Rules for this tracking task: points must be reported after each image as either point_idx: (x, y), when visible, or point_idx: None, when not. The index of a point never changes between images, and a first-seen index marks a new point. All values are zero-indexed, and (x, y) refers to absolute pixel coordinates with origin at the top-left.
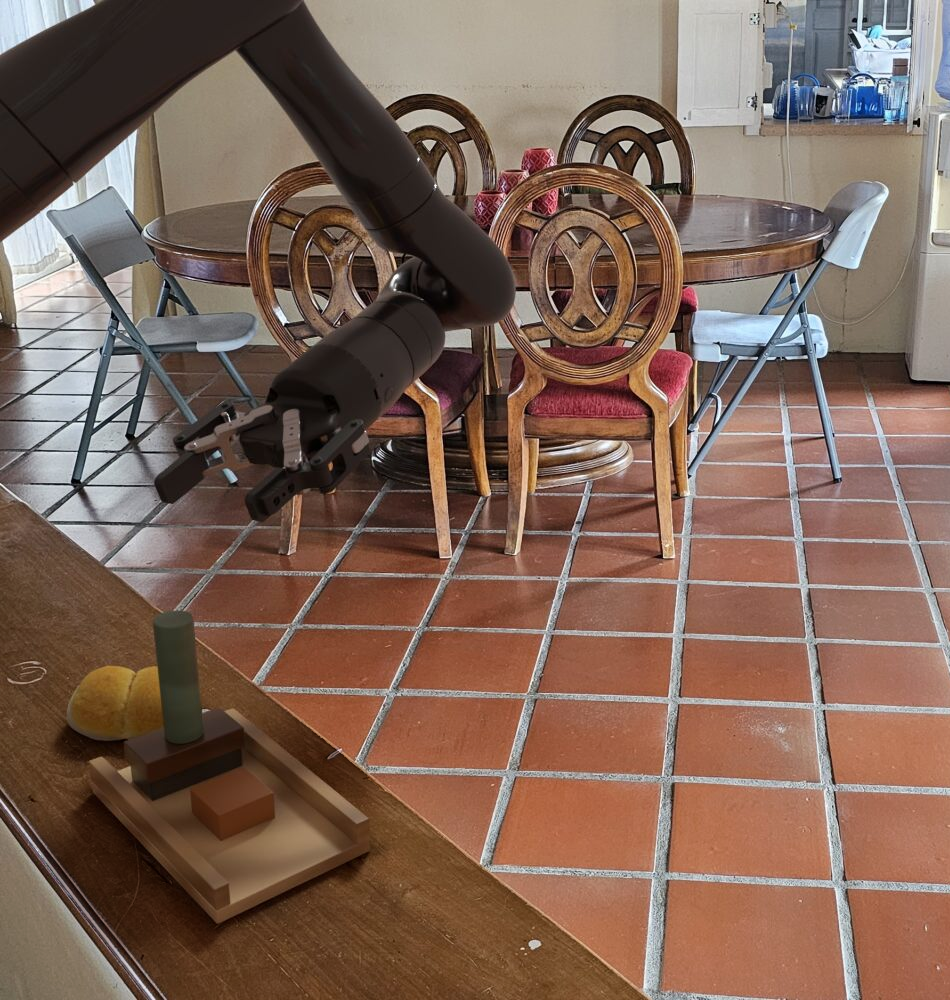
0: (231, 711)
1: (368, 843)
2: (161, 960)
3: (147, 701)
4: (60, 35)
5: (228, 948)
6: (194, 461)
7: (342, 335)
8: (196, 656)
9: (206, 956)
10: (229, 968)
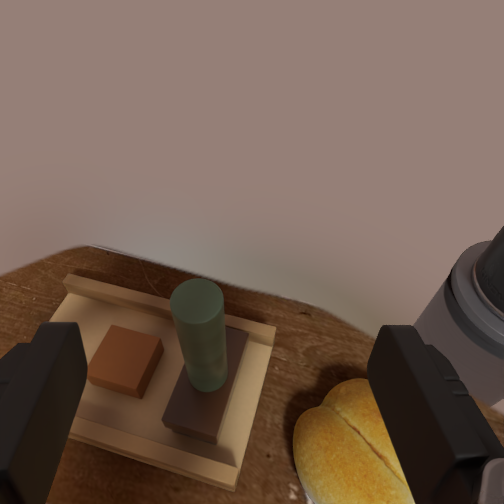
0: (229, 477)
1: None
2: (94, 256)
3: (316, 422)
4: None
5: (59, 280)
6: (438, 458)
7: None
8: (180, 342)
9: (69, 270)
10: (49, 270)
